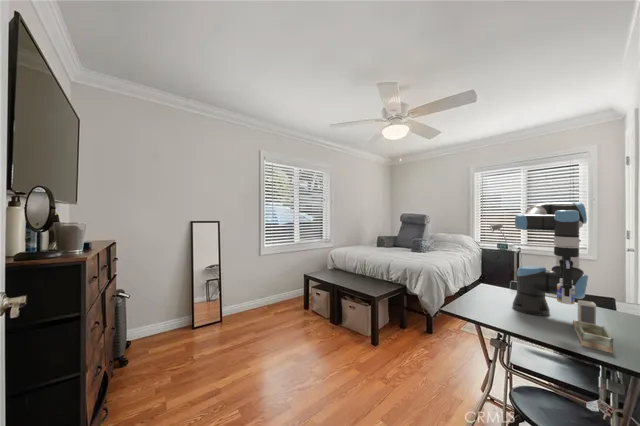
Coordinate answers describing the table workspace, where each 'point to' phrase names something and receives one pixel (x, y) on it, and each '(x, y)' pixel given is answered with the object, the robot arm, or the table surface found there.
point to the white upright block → (587, 312)
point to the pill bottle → (559, 292)
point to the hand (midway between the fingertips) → (565, 301)
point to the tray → (594, 336)
